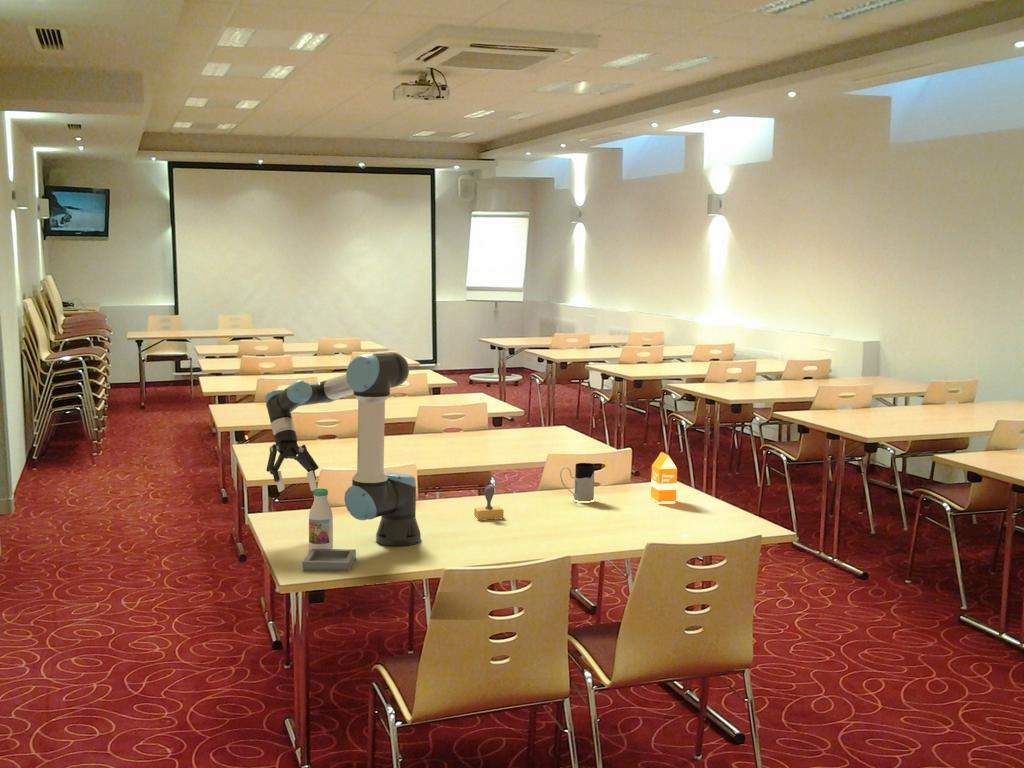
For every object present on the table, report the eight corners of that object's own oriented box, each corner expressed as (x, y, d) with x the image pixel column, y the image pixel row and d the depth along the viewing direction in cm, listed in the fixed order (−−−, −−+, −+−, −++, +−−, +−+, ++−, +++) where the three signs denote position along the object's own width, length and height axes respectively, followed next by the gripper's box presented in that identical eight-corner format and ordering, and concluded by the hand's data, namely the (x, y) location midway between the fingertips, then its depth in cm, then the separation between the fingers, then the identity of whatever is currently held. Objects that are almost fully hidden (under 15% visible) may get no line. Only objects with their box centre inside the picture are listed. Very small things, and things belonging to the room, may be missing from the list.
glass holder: (595, 503, 382) (596, 467, 380) (560, 503, 381) (561, 466, 380) (593, 498, 390) (594, 462, 389) (558, 498, 390) (559, 462, 388)
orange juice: (657, 504, 382) (659, 455, 380) (650, 499, 390) (652, 451, 388) (676, 504, 383) (678, 455, 381) (668, 499, 392) (670, 451, 390)
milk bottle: (316, 545, 318) (315, 486, 316) (337, 547, 316) (336, 488, 314) (304, 551, 311) (304, 491, 309) (326, 553, 309) (325, 493, 306)
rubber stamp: (477, 520, 353) (478, 489, 352) (474, 516, 359) (474, 485, 357) (503, 519, 356) (504, 487, 354) (499, 515, 361) (500, 484, 360)
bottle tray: (356, 558, 305) (355, 549, 304) (348, 571, 291) (348, 562, 290) (312, 557, 305) (312, 548, 304) (302, 570, 291) (302, 561, 290)
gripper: (307, 438, 344) (320, 492, 338) (247, 436, 325) (261, 494, 319) (319, 429, 340) (333, 485, 333) (260, 427, 321) (273, 486, 314)
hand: (298, 490), depth 326 cm, fingers open, 13 cm apart
